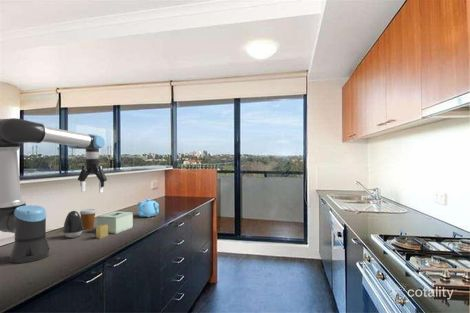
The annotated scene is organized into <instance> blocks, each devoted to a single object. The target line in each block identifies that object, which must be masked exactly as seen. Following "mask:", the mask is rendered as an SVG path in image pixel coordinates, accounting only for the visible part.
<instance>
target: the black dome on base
mask: <svg viewBox="0 0 470 313" xmlns="http://www.w3.org/2000/svg"><path fill="white" fill-rule="evenodd" d="M62 228H63V229H62V233H63V234H64V236H65V237H66V238H68V239H75V238H78V237H79V236H81V235H82V233H83V230H84V229H83V224H82V220H81V215H80V212H78V211H76V210H71V211H69V212H68V214H67V215H66V217H65V219H64V223H63V227H62Z"/></svg>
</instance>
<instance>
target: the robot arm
mask: <svg viewBox="0 0 470 313" xmlns="http://www.w3.org/2000/svg"><path fill="white" fill-rule="evenodd" d="M25 143H26V144H27V143H30V144H31V143H32V144H33V143H34V144H41V143H48V144H49V143H50V144H57V145H65V146H67V147H68V148H69V149H74V150H75V149H77V150H85V165H83V166H81V171H80V173H79V175H78V178H77V180H78V181H79V182H80V189H81V190H80V191H81V193H83V192H86V186H87V185H86V179H87V178H88V177H89V175H90V174H94V175H95V176H96V178H97V179H98V181H99V182H98V191H99V192H98V193H100V194H101V193H103V192H104V187H105V182H106V181H108V179H107V176H106V173H105V171H104V166H102V165H100V166H99V164H100V159H99V158H100V149H103V147H104V146H105V144H106V141H105V138H104V136H102V135H98V134H95V133H94V134H91V133H89V134H87V133H81V132H76V131H70V130H66V129H62V128H61V129H60V128H55V127H49V126H45V125H44V124H43V123H41V122H35V121H30V120H26V119H22V118H17V117H16V118H15V117H13V118H0V232H3V233H12V234H14V243H13V247H12V249H11V252H10V254H9V262H10V263H12V264H21V263H22V264H23V263H25V264H26V263H30V262H35V261H40V260H43V259H44V258H48V257H49V256H50V255H51V249H50V246H49V243H48V241H47V239H46V234H47V233H46V231H47V230H46V229H47V226H46V224H47V222H46V221H47V220H46V218H47V213H46V208H45V207H43V206H41V205H32V204H30V205H27V204H26V201H25V200H24V199H22V194H21V181H20V172H19V171H20V170H19V168H20V167H19V159H18V158H19V156H18V150H19V149H20V148H21V144H25Z"/></svg>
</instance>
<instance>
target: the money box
mask: <svg viewBox="0 0 470 313" xmlns="http://www.w3.org/2000/svg"><path fill="white" fill-rule="evenodd" d="M133 214H134V213H133V212H132V211H131V212H130V211H119V210H118V211H116V210H115V211H111V212H108V213H104V214H100V215H97V216H96V226H99V225H102V224H108V234H112V233H113V235H116V234H119V233H122V232H124V231H126V230H130V229H132V228H134V226H133V224H134V223H133V221H134V217H133V216H134V215H133Z"/></svg>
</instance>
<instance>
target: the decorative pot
mask: <svg viewBox="0 0 470 313" xmlns="http://www.w3.org/2000/svg"><path fill="white" fill-rule="evenodd" d="M159 213H160V211H159V203H158V202H157V201H156V200H151V198H147V199H145V200H144V201H139V202H138V203H137V211H136V214H137V216H139V217H140V218H144V217H146V218H152V217H155V216H157V215H158V214H159Z"/></svg>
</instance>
